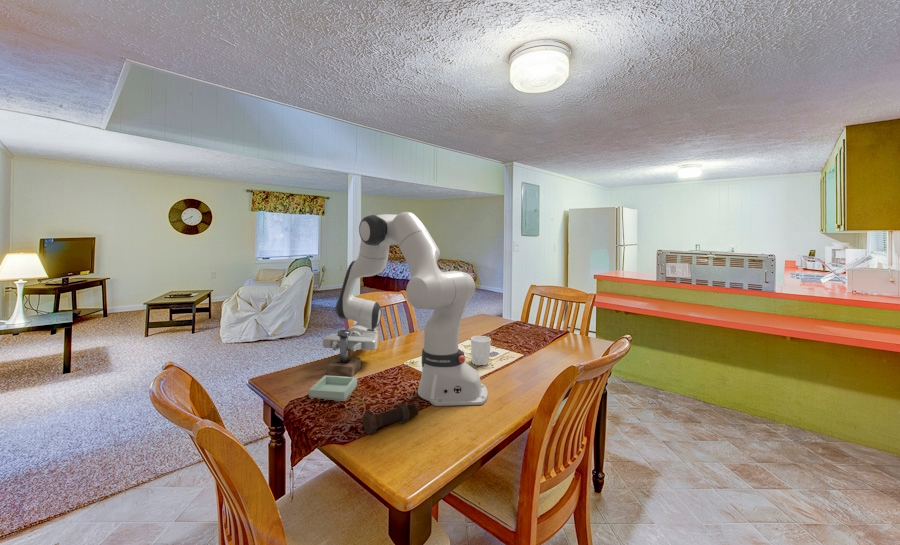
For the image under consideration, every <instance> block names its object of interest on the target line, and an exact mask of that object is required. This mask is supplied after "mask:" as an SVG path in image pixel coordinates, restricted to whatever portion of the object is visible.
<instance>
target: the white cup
mask: <svg viewBox="0 0 900 545" xmlns="http://www.w3.org/2000/svg"><path fill="white" fill-rule="evenodd" d="M491 343H492V339H491V337H489V336H485V335H473V336H471V337H470V352H471V353H470V356H471V363H473V364H472V365H474V364H475V365H474V366H477V365H485V366H487V365H486V364H488V363H489V364H490V354H491V353H490V352H491ZM489 364H488V365H489Z"/></svg>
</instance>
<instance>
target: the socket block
mask: <svg viewBox="0 0 900 545" xmlns="http://www.w3.org/2000/svg"><path fill="white" fill-rule="evenodd" d="M360 369H361V357H352V356H348V364H343V363H340V355H339V356H336V357H334V358H333V359H332V360H331V361H330V362H329V363H328V364H326V375H328V376H344V377H355V375H357V374H356V373H357V372H358V371H359V370H360Z"/></svg>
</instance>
